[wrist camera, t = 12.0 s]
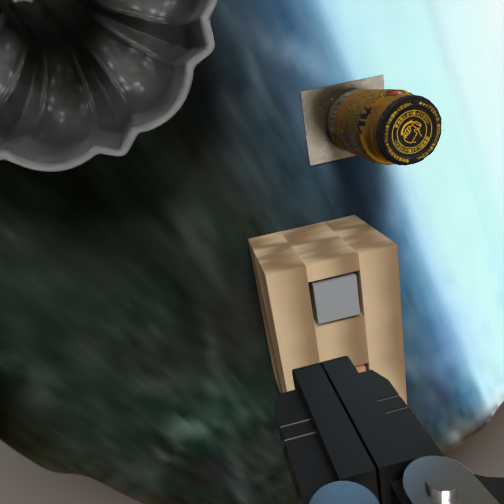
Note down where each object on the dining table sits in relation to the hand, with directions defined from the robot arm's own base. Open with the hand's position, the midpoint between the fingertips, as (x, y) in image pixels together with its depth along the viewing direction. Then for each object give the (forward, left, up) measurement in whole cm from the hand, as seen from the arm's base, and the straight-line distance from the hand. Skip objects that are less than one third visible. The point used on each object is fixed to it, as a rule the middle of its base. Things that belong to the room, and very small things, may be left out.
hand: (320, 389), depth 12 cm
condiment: (+14, +2, -35) cm, 38 cm away
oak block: (+8, -17, -35) cm, 40 cm away
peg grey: (+8, -12, -33) cm, 36 cm away
